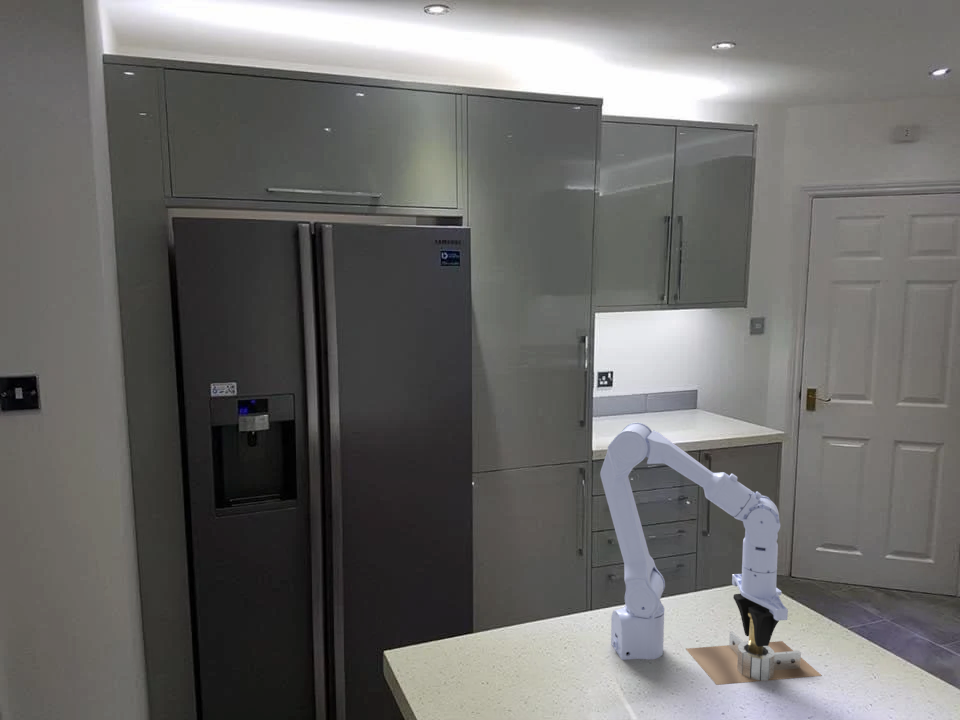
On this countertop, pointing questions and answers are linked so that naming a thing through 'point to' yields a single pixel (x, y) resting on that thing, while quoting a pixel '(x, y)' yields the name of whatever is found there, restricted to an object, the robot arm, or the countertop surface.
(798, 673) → the walnut board
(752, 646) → the brass cabinet knob
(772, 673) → the grey winged collar
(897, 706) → the countertop surface
